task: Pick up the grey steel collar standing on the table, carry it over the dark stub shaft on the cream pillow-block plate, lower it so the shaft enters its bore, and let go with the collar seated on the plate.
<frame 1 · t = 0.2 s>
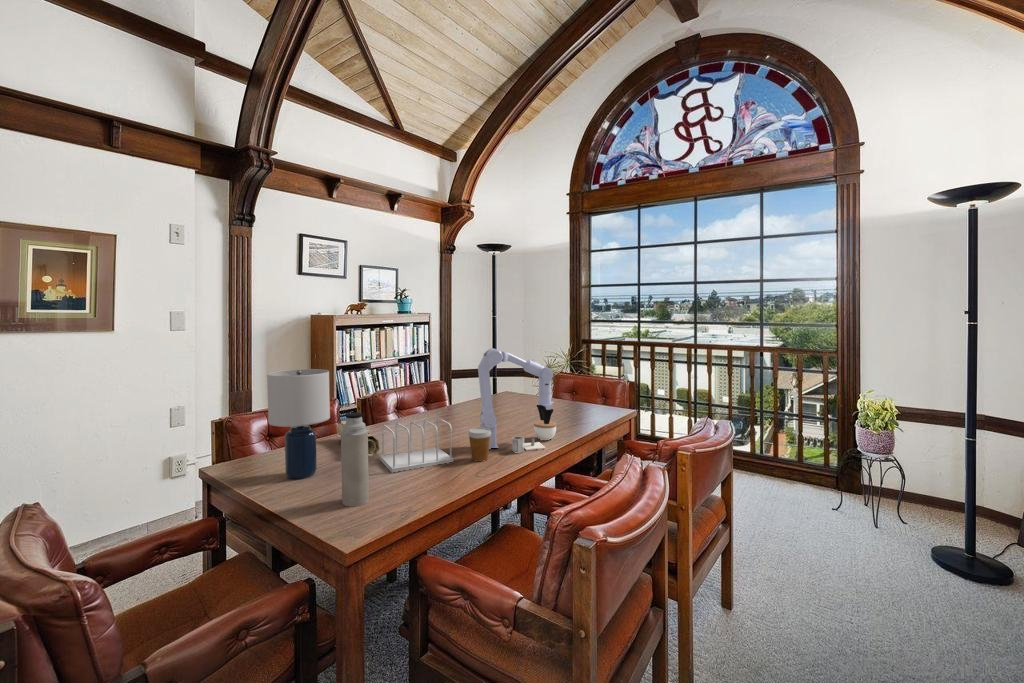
hand: (544, 422, 207), 10 cm above the table, tool pointing down, fingers open, 7 cm apart
file sorter: (416, 462, 182), on the table
collar: (518, 451, 195), on the table
lidded jar: (545, 439, 215), on the table
lamp: (301, 475, 166), on the table
stub shaft: (532, 447, 201), on the table
thermos bottle: (355, 501, 142), on the table
scroll: (355, 448, 201), on the table
disposable coffee cup: (479, 459, 184), on the table
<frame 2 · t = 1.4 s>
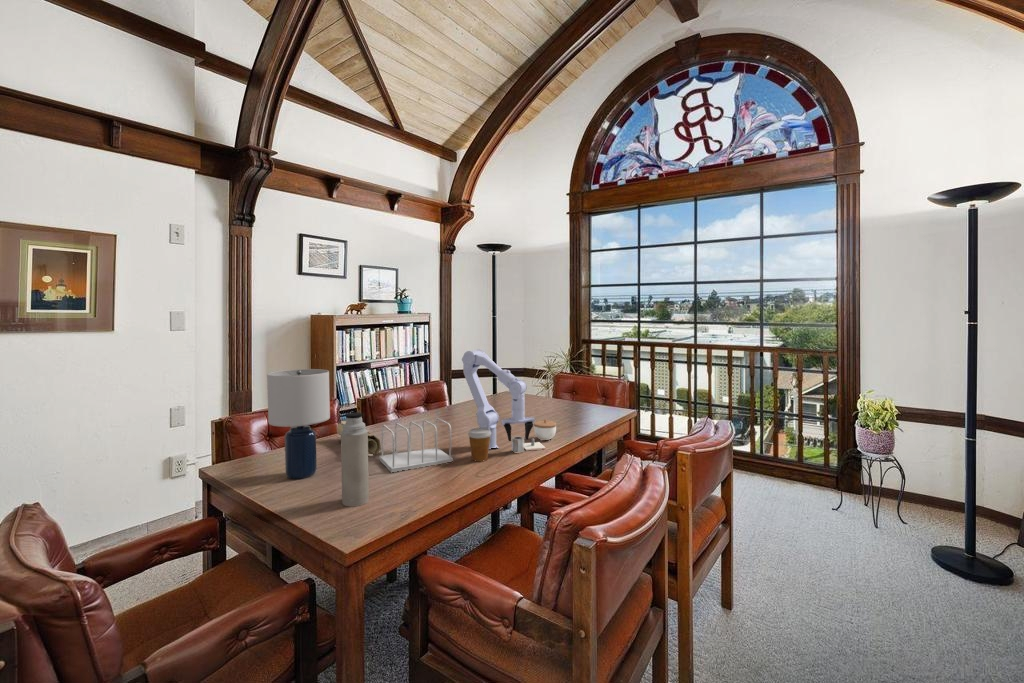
hand: (518, 439, 194), 5 cm above the table, tool pointing down, fingers open, 7 cm apart
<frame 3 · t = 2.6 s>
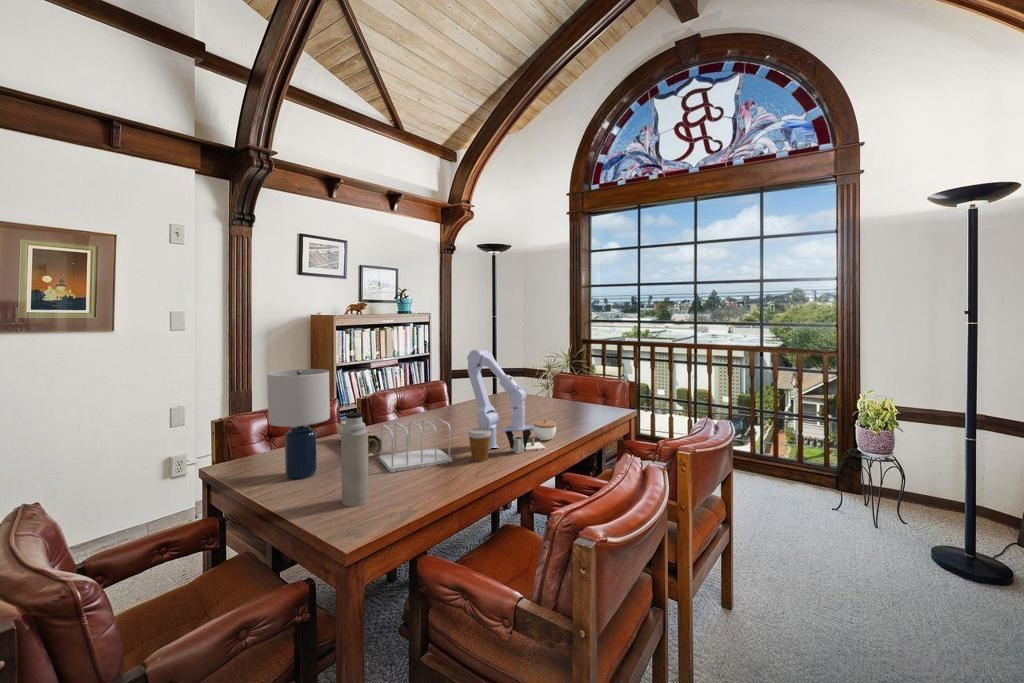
hand: (518, 447, 195), 2 cm above the table, tool pointing down, fingers closed on collar, 5 cm apart
collar: (518, 451, 195), on the table, touching gripper
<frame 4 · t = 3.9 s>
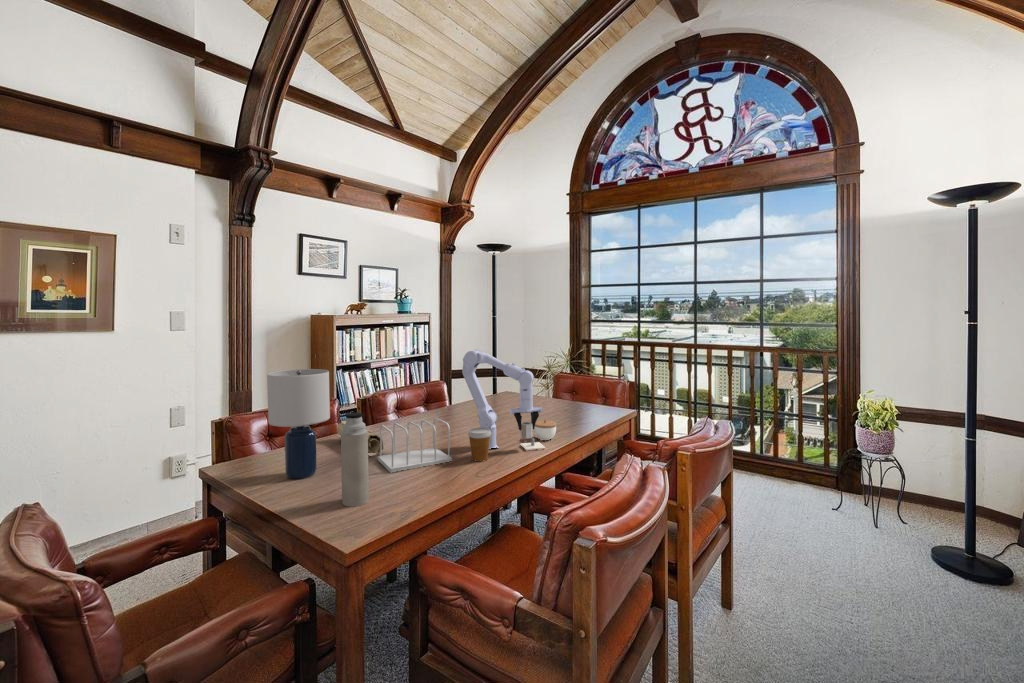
hand: (526, 429, 197), 9 cm above the table, tool pointing down, fingers closed on collar, 5 cm apart
collar: (526, 436, 197), point 6 cm above the table, touching gripper
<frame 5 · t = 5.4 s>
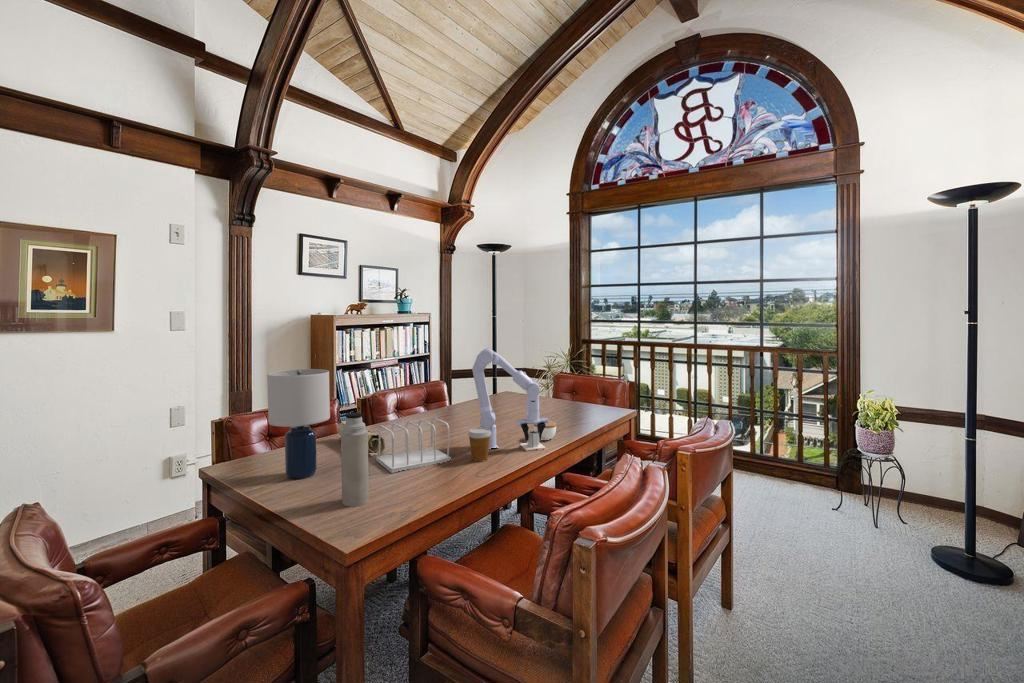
hand: (532, 439, 200), 4 cm above the table, tool pointing down, fingers closed on collar, 5 cm apart
collar: (533, 445, 200), point 1 cm above the table, touching gripper, stub shaft
when the fingers open (3 cm above the table, at t = 6.4 s): collar stays where it is, resting on stub shaft.
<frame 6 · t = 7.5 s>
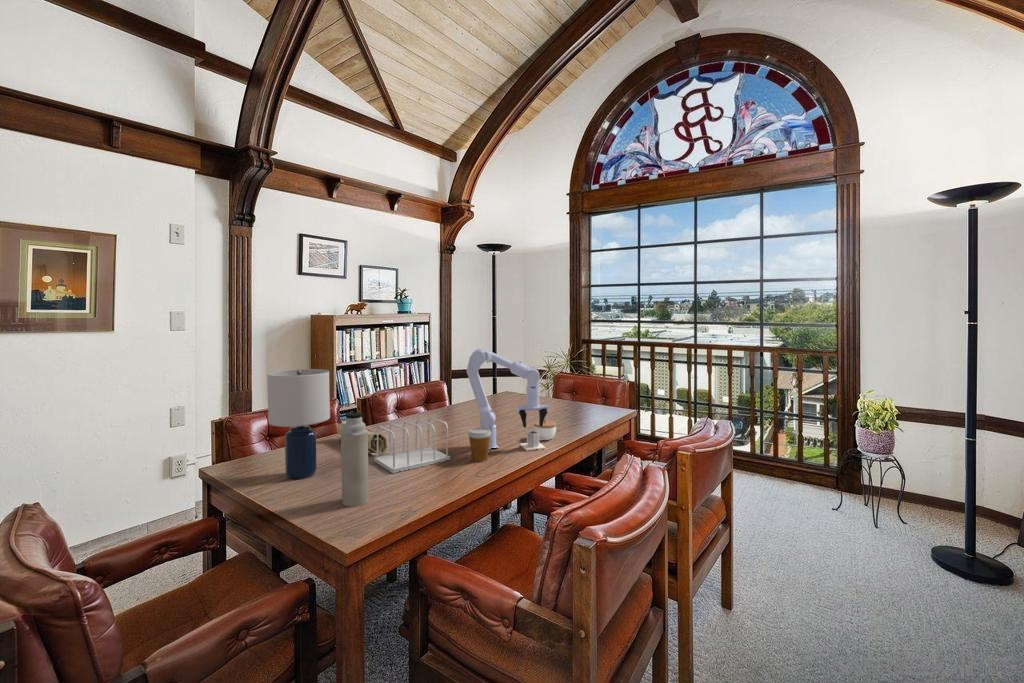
hand: (532, 426, 200), 10 cm above the table, tool pointing down, fingers open, 7 cm apart
collar: (533, 445, 200), point 1 cm above the table, touching stub shaft
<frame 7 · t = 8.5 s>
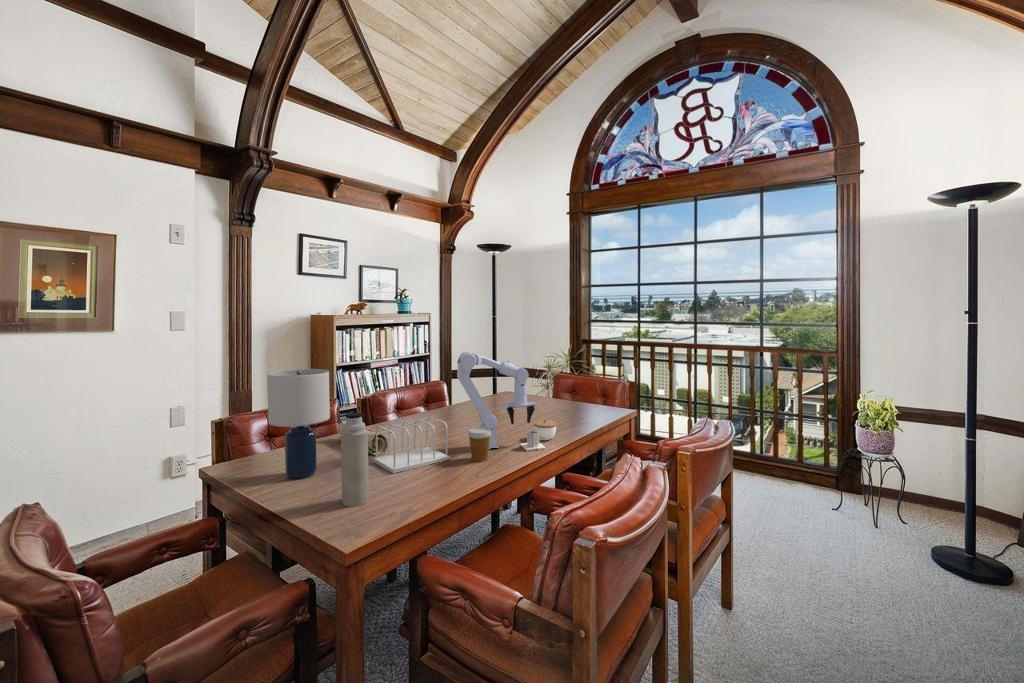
hand: (520, 423, 205), 10 cm above the table, tool pointing down, fingers open, 7 cm apart
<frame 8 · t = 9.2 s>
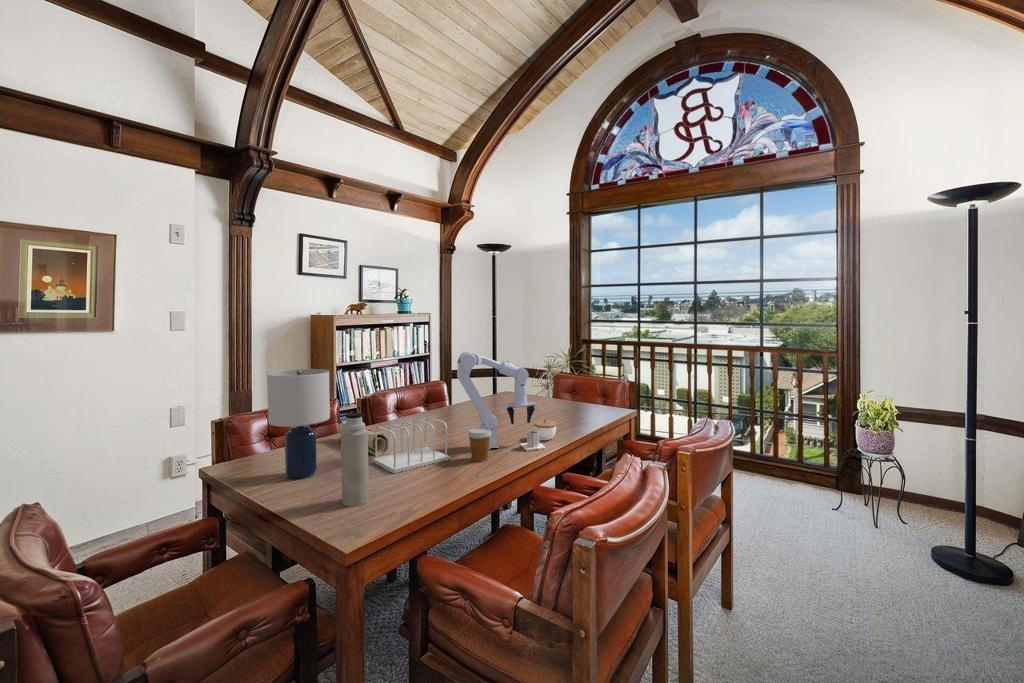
hand: (520, 423, 205), 10 cm above the table, tool pointing down, fingers open, 7 cm apart
at the end: collar 0.4 cm off-centre on the stub shaft, point 1.0 cm above the stub shaft's base; collar tilted 0°; the gripper is holding nothing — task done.
